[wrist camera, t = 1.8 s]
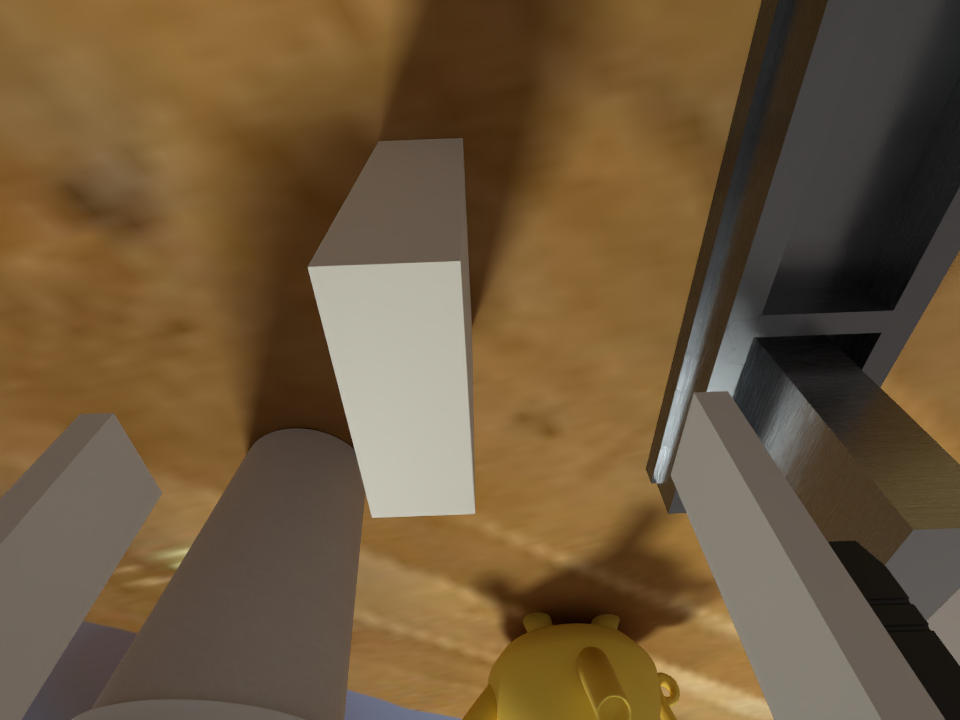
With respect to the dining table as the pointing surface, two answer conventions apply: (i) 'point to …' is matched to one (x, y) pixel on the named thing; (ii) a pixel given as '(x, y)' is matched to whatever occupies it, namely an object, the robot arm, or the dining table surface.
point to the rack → (834, 272)
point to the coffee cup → (256, 597)
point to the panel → (404, 327)
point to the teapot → (574, 676)
